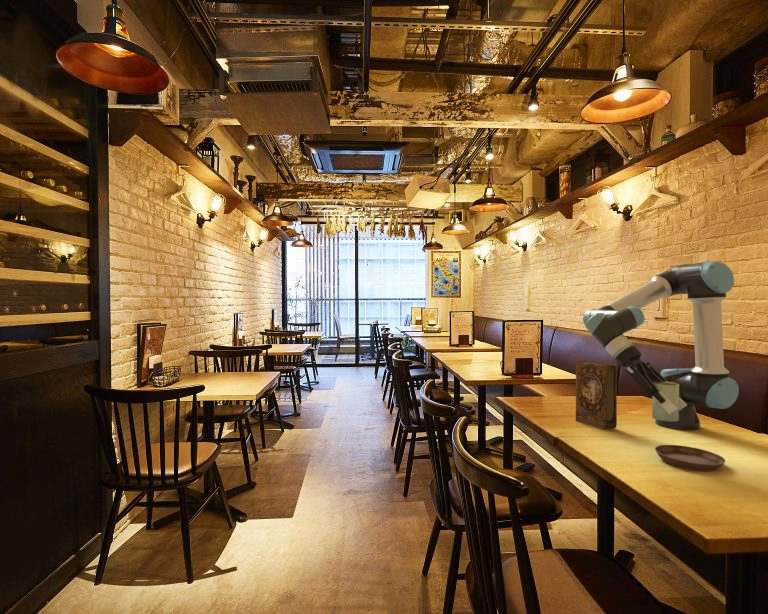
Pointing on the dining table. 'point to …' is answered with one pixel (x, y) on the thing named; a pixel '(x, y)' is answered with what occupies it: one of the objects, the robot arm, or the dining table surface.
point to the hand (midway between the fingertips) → (678, 409)
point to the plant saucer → (690, 457)
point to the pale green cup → (672, 394)
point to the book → (596, 394)
